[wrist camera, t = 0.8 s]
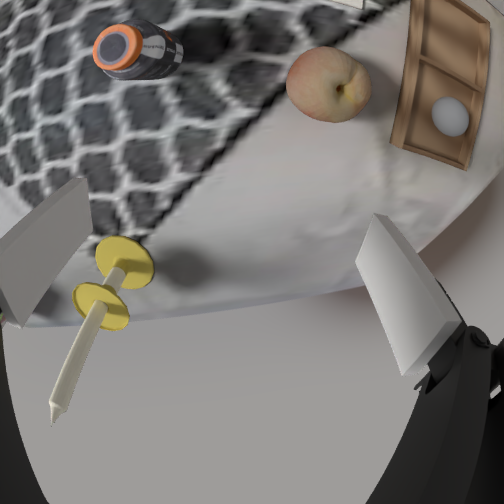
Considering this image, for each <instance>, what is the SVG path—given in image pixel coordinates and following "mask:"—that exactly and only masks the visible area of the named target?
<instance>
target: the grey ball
mask: <svg viewBox="0 0 504 504" xmlns="http://www.w3.org/2000/svg"><path fill="white" fill-rule="evenodd" d="M432 119H433V122H434V124H435V126H436V127H437V128H438V130H439V131H441V132H442V133H443V134H445V135H448V136H452V137H455V136H459V135H461V134H463V133H464V132H465V131H466V129H467V127H468V124H469V116H468V112H467V110H466V108H465V107H464V105H463V104H462V103H461V102H460V101H458V100H457V99H455V98H453V97H441V98H439V99H438V100H437V101H436V102H435V103H434V105H433V107H432Z"/></svg>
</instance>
